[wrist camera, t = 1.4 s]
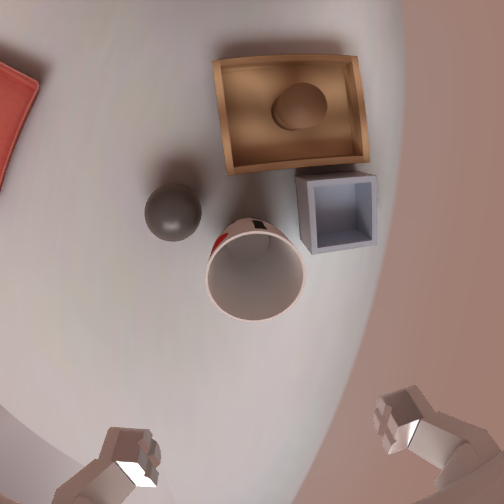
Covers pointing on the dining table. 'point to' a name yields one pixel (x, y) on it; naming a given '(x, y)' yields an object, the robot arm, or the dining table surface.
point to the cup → (254, 271)
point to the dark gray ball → (173, 212)
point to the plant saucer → (13, 110)
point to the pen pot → (337, 210)
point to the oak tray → (280, 140)
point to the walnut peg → (299, 107)
